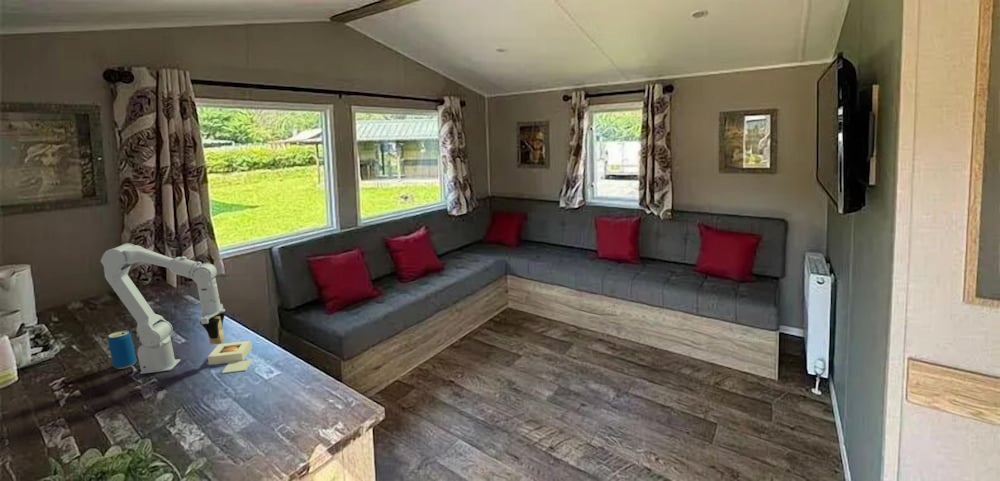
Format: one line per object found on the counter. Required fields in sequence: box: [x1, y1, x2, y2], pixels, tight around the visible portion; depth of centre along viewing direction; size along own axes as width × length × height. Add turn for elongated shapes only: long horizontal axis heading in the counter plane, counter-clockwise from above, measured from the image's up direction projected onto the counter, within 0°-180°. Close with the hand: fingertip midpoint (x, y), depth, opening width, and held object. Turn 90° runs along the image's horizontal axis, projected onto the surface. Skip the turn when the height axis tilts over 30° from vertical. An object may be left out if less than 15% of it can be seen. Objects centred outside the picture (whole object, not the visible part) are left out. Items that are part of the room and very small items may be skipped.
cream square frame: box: [207, 340, 253, 366], centre depth 174 cm, size 11×11×3 cm
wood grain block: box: [207, 316, 226, 346], centre depth 169 cm, size 4×4×9 cm
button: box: [222, 347, 238, 353], centre depth 174 cm, size 5×5×1 cm
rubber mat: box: [221, 359, 253, 375], centre depth 166 cm, size 8×8×1 cm
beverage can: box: [107, 330, 138, 370], centre depth 169 cm, size 6×6×12 cm
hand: (216, 335), depth 169 cm, fingers closed on wood grain block, 3 cm apart
